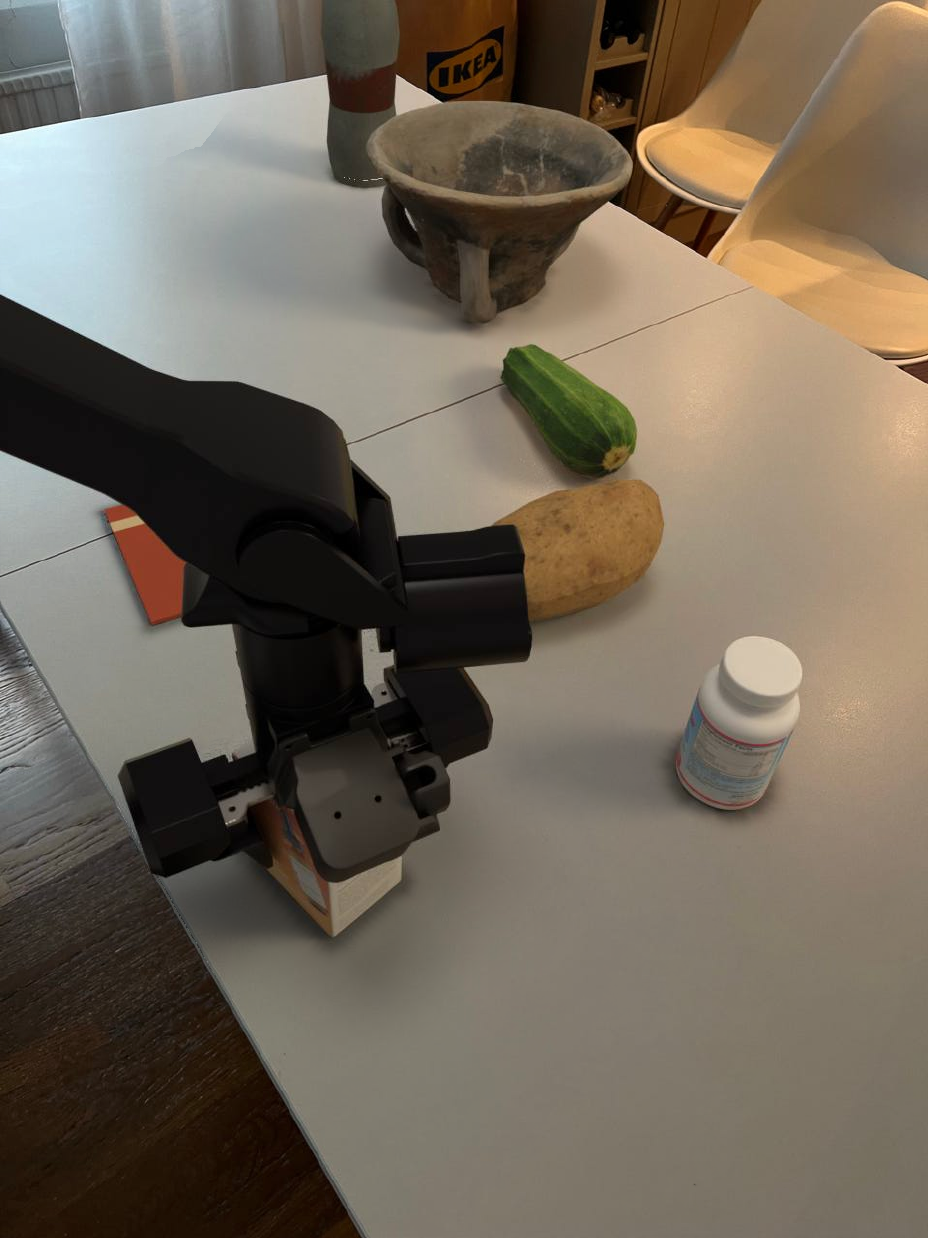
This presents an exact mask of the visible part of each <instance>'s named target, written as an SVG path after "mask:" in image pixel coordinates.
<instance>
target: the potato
mask: <svg viewBox="0 0 928 1238" xmlns="http://www.w3.org/2000/svg"><path fill="white" fill-rule="evenodd" d="M660 501H661V500H660V496H659V494H658V493H657V492H656V491H655V490H654V488H653V487H652V486H651V485H649V484H648V483H646V482H644V481H643V480H642V479H634V478H633V479H631V478H630V479H627V478H621V479H620V478H619V479H614V480H610V481H605V482H600V483H596V484H590V485H586V486H581V487H575V488H568V489H560V490H555V491H552V492H550V493H548V494H545V495H542V496H541V497H539V498H536V499H534V500H531V501H529V502H527V503H526V504H524V505H522V506H521V507H519V508H518V509H516V510H514V511H512V512H511V513H509V514H507V515H505V516H504V517H501V518H499V519H498V520H496V521H495V522H493V523H492V524H491V525H490V526H496V525H510V524H513V525H515V526H516V527H517V528H518V531H519V535H520V538H521V542H522V545H523V548H524V552H525V564H524V577H525V584H526V591H527V603H528V619H529V622H537V621H538V622H539V621H542V620H549V619H553V618H557V617H561V616H565V615H570V614H574V613H576V612H580V611H583V610H587V609H589V608H593V607H596V606H598V605H600V604H602V603H605V602H607V601H609V600H610V599H613V598H614V597H615V596H617V595H619V594H620V593H622V592H624V591H625V590H628V589H629V588H630V587H632V586H633V585H634V584H636V583H638V582H639V581H640V580H641V579H643V578H644V576H645V575H646V573H647V571H648V569H649V568H650V566H651V564H652V563H653V561H654V559H655V557H656V555H657V552H658V551H659V549H660V546H661V544H662V540H663V534H664V530H665V529H664V528H665V519H664V516H663V510H662V505H661V502H660Z"/></svg>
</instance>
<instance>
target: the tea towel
mask: <svg viewBox="0 0 928 1238" xmlns="http://www.w3.org/2000/svg"><path fill="white" fill-rule="evenodd" d="M103 510H104V511H103V512H104V515H105V517H106V519H107V522H108V524H109V525H110V528H111V531H112V533H113V535H114V539H115V540H116V543H117V545H118V548H119V550H120V553H121V555H122V557H123V560H124V563H125V564H126V567H127V570H128V572H129V574H130V576H131V579H132V583H133V584H134V586H135V589H136V591H137V593H138V596H139V598H140V602H141V604H142V606H143V608H144V610H145V613H146V615H147V619H148V620H149V623H150V626H155V625H158V624H161V623H165V622H167V621H168V622H169V621H172V620H174V619H177V618H181V610H182V590H183V570H184V565H185V564H186V562H184V561H182V560H181V559H179V558H178V557H176V556H175V555H174V554H173V553H172V552H171V551H170V549H169V548H168V547H167V546H166V545H165V544H164V543H163V542H162V541H161V540H160V539H159V538H158V537H157V536H156V535H155V534H154V533H153V532H152V531H151V529H150V528H149V527H148V526H147V525H146V524H145V523H144V522H143V521H142V520H141V519H140V518H139V517H138V516H137V515H136V514H135V513H134V512H133V511H132V510H130V509H129V508H127V507H125V506H124V505H122V504H119V505H115V506H111V507H108V508H104V509H103Z"/></svg>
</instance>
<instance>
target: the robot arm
mask: <svg viewBox="0 0 928 1238" xmlns="http://www.w3.org/2000/svg"><path fill="white" fill-rule="evenodd" d="M0 452H1V453H4V454H6V455H9V456H11V457H14V458H16V459H18V460H21V461H23V462H26V463H28V464H30V465H33V466H36V467H38V468H40V469H43V470H45V471H47V472H50V473H52V474H55V475H57V476H58V477H59V476H60V477H62V478H65V479H67V480H70V481H71V482H74V483H76V484H79V485H81V486H84V487H85V488H89V489H91V490H93V491H96V492H97V493H100V494H103V495H104V496H107V497H108V498H110V499H112V500H114V501H115V502H116V503H118V504H119V505H124V506H125V507H127V508H129V509H130V510H132V511H133V512H134V513H135V514H136V515H137V516H138V517H139V518H140V519H141V520H142V521H143V522H144V523H145V524H146V525H147V526H148V527H149V528H150V529H151V531H152V532H153V533H154V534H155V535H156V536H157V537H158V538H159V539H160V540H161V541H162V542H163V543H164V544H165V545H166V546H167V547H168V548H169V549H170V551H171V552H172V553H173V554H174V555H175V556H176V557H178V558H179V559H181V560H182V561H184V562H186V564H185V565H184V570H183V590H182V610H181V617H180V622H181V624H182V625H183V626H184V627H187V628H191V629H192V628H193V629H194V628H205V627H217V626H227V625H231V629H232V634H233V639H234V643H235V657H236V658H235V659H236V663H237V667H238V668H239V672H240V677H241V683H242V688H243V694H244V699H245V711H246V716H247V719H248V721H249V727H250V731H251V732H250V733H251V737H252V738H253V743H254V749H255V753H252V754H250V755H247V756H244V757H242V758H239V759H236V760H234V761H233V760H231V761H229V759H228V757H227V754H225V753H224V754H222V755H218V756H216V757H212V758H209V759H207V760H205V761H202V760H201V758H200V755H199V753H198V750H197V748H196V745H195V743H194V741H193V739H192V738H191V737H187V738H185V739H182V740H179V741H176V742H174V743H171V744H168V745H165V746H163V747H160V748H157V749H154V750H151V751H148V752H146V753H143V754H141V755H137V756H134V757H131V758H129V759H126V760H124V762H123V763H122V766H121V767H120V770H119V772H118V774H117V779H118V781H119V785H120V787H121V790H122V795H123V797H124V800H125V802H126V805H127V809H128V811H129V814H130V817H131V819H132V822H133V825H134V828H135V831H136V834H137V837H138V840H139V843H140V846H141V848H142V851H143V854H144V858H145V860H146V864H147V865H148V868H149V871H150V874H151V875H155V876H158V877H161V878H164V879H168V878H170V877H173V876H175V875H178V874H180V873H184V872H185V871H188V870H190V869H192V868H195V867H197V866H198V867H199V866H200V865H202V864H205V863H207V862H213V863H214V862H220V861H222V860H225V859H227V858H230V857H232V856H235V855H237V854H240V853H242V852H243V853H245V854H246V855H248V857H250V858H251V859H253V860H254V861H256V862H257V863H258V864H259V865H261V866H262V867H264V869H265V870H267V869H268V868H271V867H273V857H272V854H271V852H270V850H269V848H268V845H267V843H266V841H265V838H264V836H263V834H262V832H261V829H260V827H259V825H258V823H257V821H256V819H255V816H254V814H253V812H252V810H251V808H250V806H252V805H254V804H257V803H260V802H262V801H265V800H267V799H270V798H272V797H274V799H275V801H276V803H277V805H278V807H279V808H281V807H283V806H286V808H288V809H293V812H294V815H295V817H296V820H297V822H298V825H299V827H300V830H301V832H302V835H303V837H304V840H305V842H306V845H307V847H308V850H309V852H310V855H311V857H312V861H313V864H314V866H315V869H316V871H317V873H318V874H319V875H320V877H321V878H323V879H324V880H325V881H328V882H331V883H339V882H343V881H345V880H348V879H350V878H352V877H354V876H356V875H358V874H360V873H362V872H365V871H367V870H369V869H372V868H374V867H376V866H379V865H381V864H383V863H386V862H389V861H392V860H394V859H396V858H398V857H400V856H402V857H403V855H404V854H405V853H406V852H407V851H408V849H409V847H410V846H411V845H412V844H413V843H416V842H417V841H420V840H422V839H424V838H427V837H429V836H431V835H433V834H436V833H438V832H440V831H441V825H440V821H439V819H438V817H437V816H438V815H439V814H442V813H444V812H446V811H447V810H448V809H449V807H450V805H451V802H452V793H451V791H452V790H451V777H450V775H449V773H448V771H447V768H448V767H449V765H450V764H453V763H455V762H458V761H461V760H463V759H465V758H467V757H470V756H473V755H475V754H478V753H481V752H483V751H484V750H487V749H489V745H490V743H491V740H492V736H493V726H494V717H493V714H492V710H491V708H490V705H489V703H488V701H487V700H486V699H485V697H484V696H483V694H482V693H481V691H480V690H479V687H478V686H477V685H476V683H475V682H474V681H473V679H472V677H471V676H470V675H469V673H468V671H466V669H465V668H473V667H474V668H476V667H485V666H495V665H496V666H497V665H506V664H517V663H518V664H519V663H525V662H528V660H529V658H530V656H531V653H532V652H531V651H532V645H533V630H532V626H531V621H529V619H528V603H527V591H526V584H525V577H524V564H525V552H524V548H523V545H522V542H521V538H520V535H519V531H518V528H517V527H516V526H515V525H513V524H510V525H496V526H491V525H490V526H484V527H480V528H476V529H472V530H463V531H461V530H460V531H449V532H436V533H435V532H434V533H421V534H408V535H407V534H406V535H397V527H396V522H395V516H394V509H393V504H392V498H391V496H390V495H389V494H388V493H387V492H386V491H385V490H384V489H383V488H382V487H381V486H380V485H378V484H377V483H376V482H375V481H374V480H373V479H372V478H371V477H370V476H369V475H368V474H367V473H366V472H365V471H364V470H363V469H362V468H361V467H360V466H359V465H357V463H355V462H354V461H353V460H352V459H351V455H350V452H349V447H348V443H347V441H346V438H345V436H344V432H343V430H342V428H341V427H340V426H339V425H338V424H337V423H336V421H335V420H334V419H332V418H331V417H330V416H329V415H327V414H326V413H324V411H322V410H320V409H318V408H316V407H315V406H312V405H309V404H307V403H304V402H301V401H299V400H295V399H292V398H289V397H286V396H284V395H280V394H277V393H274V392H271V391H268V390H265V389H262V388H259V387H256V386H254V385H250V384H248V383H246V382H245V383H244V382H242V381H238V380H237V381H236V380H187V379H182V378H179V377H176V376H173V375H170V374H168V373H164V372H161V371H158V370H155V369H154V368H150V367H148V366H146V365H144V364H142V363H141V362H138V361H136V360H134V359H132V358H130V357H128V356H126V355H124V354H122V353H120V352H118V351H116V350H114V349H112V348H111V347H108V346H106V345H104V344H102V343H99V342H98V341H95V340H94V339H92V338H90V337H88V336H86V335H84V334H82V333H80V332H78V331H75V330H73V329H72V328H69V327H67V326H65V325H63V324H62V323H59V322H57V321H55V320H54V319H51V318H50V317H48V316H45V315H43V314H41V313H39V312H37V311H35V310H33V309H31V308H29V307H27V306H25V305H23V304H21V303H19V302H17V301H15V300H13V299H11V298H9V297H7V296H5V295H3V294H1V293H0ZM374 629H375V634H376V641H377V647H378V649H377V650H378V653H379V654H385V653H391V652H392V651H393V652H392V657H393V664H392V665H390V666H387V667H384V668H383V669H382V671H383V672H382V673H383V682H382V683H379V684H377V685H375V686H374V687H373V688H372V690H371V693H370V690H369V689H368V687H367V685H366V684H365V671H364V652H363V651H364V650H363V631H364V630H365V631H366V630H374ZM252 738H251V739H252Z"/></svg>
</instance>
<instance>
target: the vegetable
mask: <svg viewBox="0 0 928 1238" xmlns="http://www.w3.org/2000/svg"><path fill="white" fill-rule="evenodd" d="M499 378H500V381H501V382H502V383H503V384H504V385H505V387H506V389H507V390H508V392H509V393H510V394H511V396H512V397H513V398H514V399H515V401H517V403H519V404H520V405H521V407H522V408H523V409H524V410H525V412H526V413H527V415H528V417H530V419H531V421H532V422H533V424H534V425H535V427H536V428H537V431H538V432H539V434H540V436H541V437H542V439H543V441H544V442H545V444H546V446H547V447H548V449H549V451H550V452H551V453H552V455H554V457H556V459H557V460H558V461H559V462H560V463H561V464H562V465H563V466H564V467H565V468H566V469H568V470H569V471H571V472H572V473H575V474H577V475H579V476H582V477H585V478H592V479H601V478H605V477H607V476H608V475H612V474H615V473H617V472H618V471H619V470H620V469H621V467H622V466H624V465H625V464H626V463H627V461H628V459H629V458H630V457H631V456H632V455H633V454H634V452H635V449H636V446H637V438H638V428H637V424H636V421H635V418H634V416H633V415H632V413H631V411H630V410H629V408H628V407H627V406H626V405H625V404H624V403H623V402H622V401H621V400H619V399H618V398H617V397H616V396H614V395H613V394H612V393H610V392H608V391H607V390H605V389H604V388H602V387H601V386H599V385H598V384H596V383H595V382H593V381H591V379H589V378H587V377H586V376H585V375H584V374H582V373H581V372H580V371H578V370H576V369H575V368H573V367H572V366H570V365H569V364H567V363H566V362H564V361H563V360H561V359H560V358H558V357H557V355H556V356H555V355H554V354H552V353H551V352H548V351H546V350H544V349H543V348H541V347H539V346H538V345H536V344H533V343H530V344H527V345H524V346H515V347H510V348H509V349H508V351H507V353H506V356H505V357H504V358H503V359H502V371H501V374H500V377H499Z"/></svg>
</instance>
